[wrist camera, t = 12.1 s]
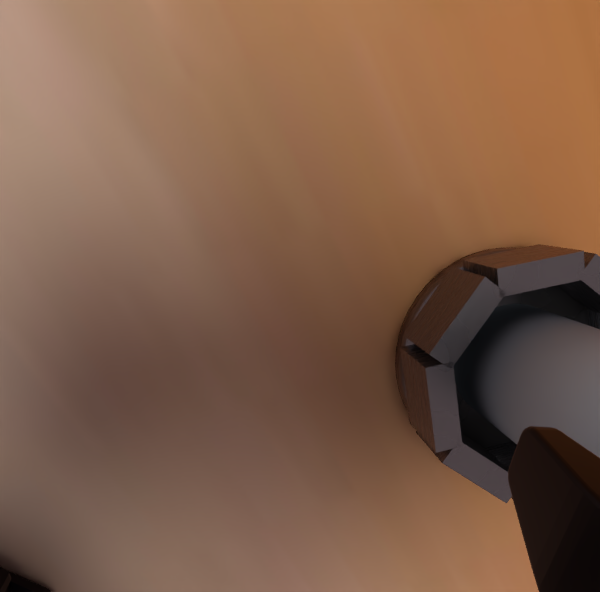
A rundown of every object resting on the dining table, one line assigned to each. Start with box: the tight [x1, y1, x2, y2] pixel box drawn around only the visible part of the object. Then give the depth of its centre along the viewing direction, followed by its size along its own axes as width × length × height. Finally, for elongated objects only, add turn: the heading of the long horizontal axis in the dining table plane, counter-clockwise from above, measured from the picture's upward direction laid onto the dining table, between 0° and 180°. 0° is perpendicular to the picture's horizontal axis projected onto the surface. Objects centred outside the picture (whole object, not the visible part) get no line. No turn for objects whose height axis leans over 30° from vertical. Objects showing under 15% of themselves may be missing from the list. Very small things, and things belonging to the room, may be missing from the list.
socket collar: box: [395, 244, 600, 503], centre depth 20 cm, size 9×9×4 cm
